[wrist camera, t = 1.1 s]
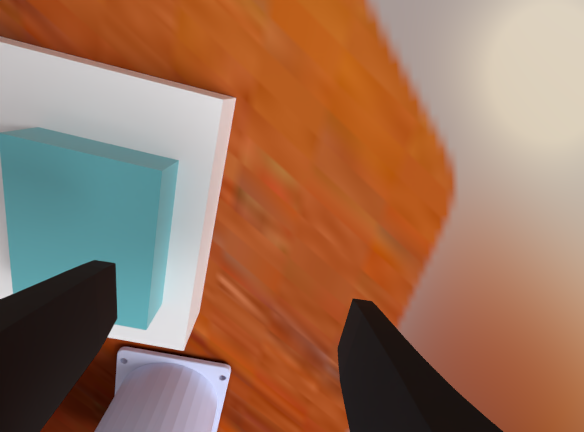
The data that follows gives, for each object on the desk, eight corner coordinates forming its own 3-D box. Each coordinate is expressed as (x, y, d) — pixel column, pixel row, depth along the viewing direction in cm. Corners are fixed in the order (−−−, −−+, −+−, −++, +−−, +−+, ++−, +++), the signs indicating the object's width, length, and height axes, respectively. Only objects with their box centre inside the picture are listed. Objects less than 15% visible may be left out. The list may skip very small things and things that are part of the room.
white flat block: (199, 311, 21) (183, 350, 18) (12, 275, 20) (-40, 310, 17) (236, 97, 16) (223, 99, 13) (-9, 34, 15) (-90, 18, 12)
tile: (162, 303, 17) (146, 330, 15) (45, 281, 16) (13, 306, 14) (178, 160, 14) (162, 170, 12) (38, 127, 14) (-2, 132, 12)
